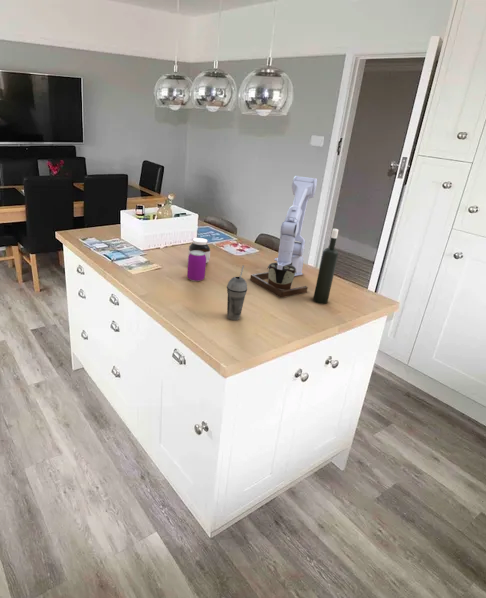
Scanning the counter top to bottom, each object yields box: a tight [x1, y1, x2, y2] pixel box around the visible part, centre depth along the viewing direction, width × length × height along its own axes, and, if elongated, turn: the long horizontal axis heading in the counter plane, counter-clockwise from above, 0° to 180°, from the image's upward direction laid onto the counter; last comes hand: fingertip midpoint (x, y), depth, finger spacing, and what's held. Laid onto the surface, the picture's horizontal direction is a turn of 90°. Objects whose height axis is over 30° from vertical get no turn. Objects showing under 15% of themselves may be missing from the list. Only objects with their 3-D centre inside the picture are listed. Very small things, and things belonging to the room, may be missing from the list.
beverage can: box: [186, 250, 207, 283], centre depth 179 cm, size 8×8×12 cm
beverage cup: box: [226, 265, 248, 321], centre depth 146 cm, size 7×7×20 cm
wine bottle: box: [312, 228, 340, 305], centre depth 163 cm, size 6×6×30 cm
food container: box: [266, 262, 296, 291], centre depth 178 cm, size 12×6×10 cm, turn 71°
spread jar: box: [187, 237, 211, 265], centre depth 196 cm, size 12×11×12 cm
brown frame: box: [249, 271, 309, 298], centre depth 180 cm, size 15×20×2 cm
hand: (280, 280), depth 179 cm, fingers closed on food container, 6 cm apart
